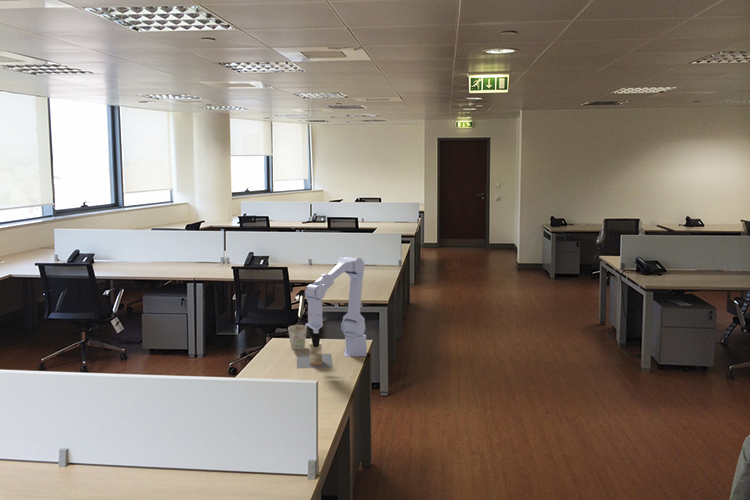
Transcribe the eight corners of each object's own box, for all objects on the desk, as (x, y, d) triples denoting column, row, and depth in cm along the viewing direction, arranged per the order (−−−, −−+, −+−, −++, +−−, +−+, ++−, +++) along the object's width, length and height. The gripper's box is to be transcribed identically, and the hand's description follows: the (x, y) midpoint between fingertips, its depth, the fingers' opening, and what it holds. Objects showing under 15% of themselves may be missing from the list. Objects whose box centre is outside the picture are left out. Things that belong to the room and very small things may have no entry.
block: (321, 360, 275) (321, 340, 274) (321, 364, 271) (321, 343, 269) (309, 361, 275) (309, 340, 274) (310, 365, 270) (309, 344, 269)
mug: (308, 345, 298) (308, 325, 297) (303, 354, 286) (302, 332, 284) (291, 345, 299) (290, 324, 298) (284, 353, 287) (284, 332, 285)
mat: (330, 354, 285) (330, 353, 285) (333, 367, 268) (333, 366, 268) (296, 355, 284) (296, 354, 284) (296, 369, 266) (296, 368, 266)
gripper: (305, 309, 268) (305, 340, 271) (305, 318, 254) (306, 351, 256) (322, 308, 269) (322, 340, 271) (323, 317, 255) (324, 350, 257)
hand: (315, 345), depth 264 cm, fingers open, 3 cm apart
